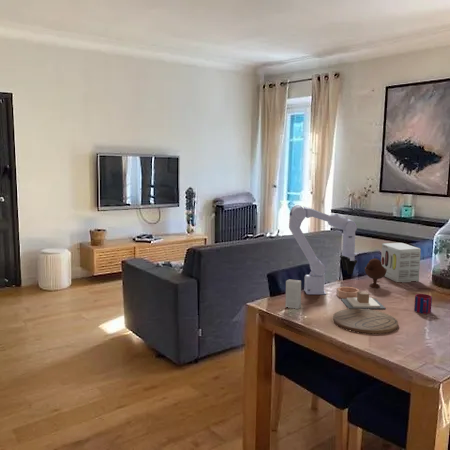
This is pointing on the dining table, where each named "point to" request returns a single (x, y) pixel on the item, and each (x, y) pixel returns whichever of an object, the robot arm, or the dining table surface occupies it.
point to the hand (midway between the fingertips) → (348, 272)
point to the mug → (423, 303)
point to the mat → (361, 307)
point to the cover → (363, 300)
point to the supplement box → (401, 261)
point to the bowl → (347, 292)
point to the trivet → (365, 321)
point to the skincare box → (293, 293)
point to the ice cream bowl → (375, 271)
